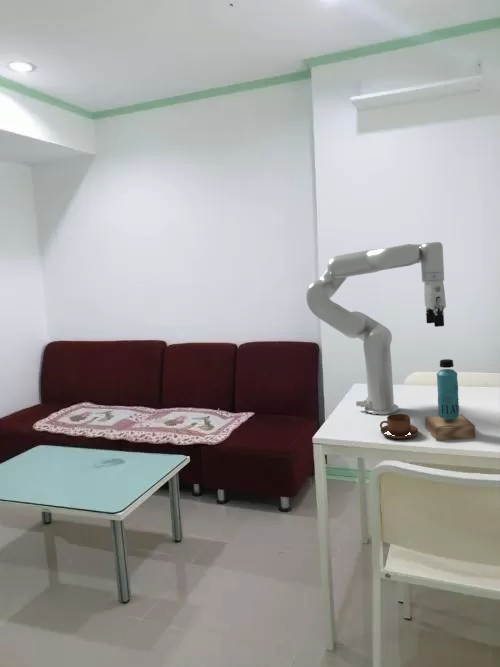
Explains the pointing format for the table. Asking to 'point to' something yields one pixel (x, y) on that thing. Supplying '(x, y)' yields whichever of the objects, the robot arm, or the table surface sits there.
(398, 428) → the cup and saucer
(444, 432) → the walnut base
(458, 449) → the table surface
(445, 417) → the beverage bottle
